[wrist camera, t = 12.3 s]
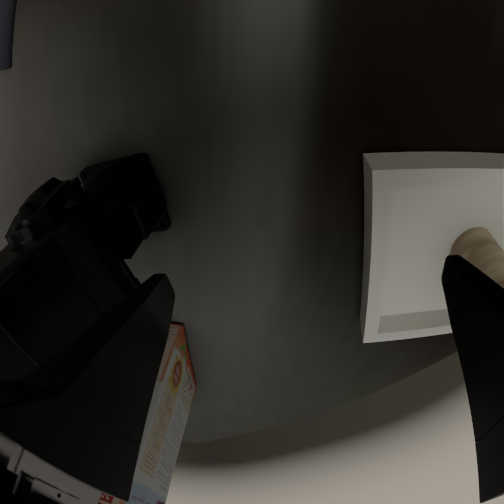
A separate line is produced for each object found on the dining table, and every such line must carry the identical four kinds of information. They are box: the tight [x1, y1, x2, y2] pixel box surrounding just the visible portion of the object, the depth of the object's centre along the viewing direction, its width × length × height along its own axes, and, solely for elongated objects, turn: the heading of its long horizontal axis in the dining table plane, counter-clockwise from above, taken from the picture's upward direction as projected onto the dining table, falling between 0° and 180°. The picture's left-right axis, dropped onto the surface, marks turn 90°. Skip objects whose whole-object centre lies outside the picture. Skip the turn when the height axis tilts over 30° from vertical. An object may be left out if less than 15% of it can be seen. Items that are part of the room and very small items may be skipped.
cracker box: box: [99, 323, 196, 504], centre depth 29 cm, size 14×6×21 cm, turn 177°
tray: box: [360, 152, 504, 343], centre depth 21 cm, size 16×16×3 cm
